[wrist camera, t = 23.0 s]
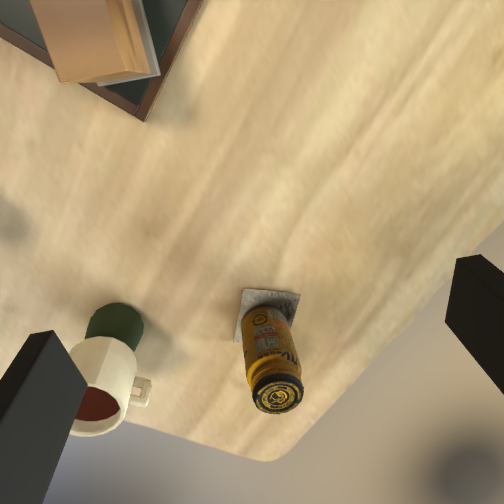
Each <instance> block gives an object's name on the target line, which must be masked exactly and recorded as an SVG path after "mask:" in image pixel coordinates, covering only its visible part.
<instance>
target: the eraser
mask: <svg viewBox="0 0 504 504" xmlns="http://www.w3.org/2000/svg"><path fill="white" fill-rule="evenodd" d="M29 2H30V5H31V8H32V10H33V13H34V15H35V18H36V21H37V23H38V26H39V29H40V31H41V34H42V36H43V39H44V42H45V44H46V47H47V50H48V52H49V55H50V57H51V60H52V63H53V65H54V68H55V70H56V73H57V76H58V78H59V81H60V83H97V85H98V86H107V85H113V84H118V83H123V82H129V81H134V80H139V79H145V78H150V77H155V76H160V75H161V73H160V69H159V65H158V61H157V58H156V54H155V50H154V46H153V42H152V38H151V34H150V30H149V26H148V23H147V19H146V15H145V11H144V7H143V3H142V0H29Z"/></svg>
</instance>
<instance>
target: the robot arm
mask: <svg viewBox="0 0 504 504" xmlns="http://www.w3.org/2000/svg"><path fill="white" fill-rule="evenodd" d="M445 323H446V324H447V325H448V327H449V328H450V329H451V330H452V331H453V333H454V334H455V335H456V336H457V338H458V339H459V340H460V341H461V342H462V344H463V345H464V346H465V348H466V349H467V350H468V351H469V352H470V354H471V355H472V356H473V357H474V358H475V360H476V361H477V362H478V364H479V365H480V366H481V367H482V368H483V370H484V371H485V372H486V373H487V375H488V376H489V377H490V378H491V380H492V381H493V382H494V383H495V384H496V386H497V387H498V388H499V389H500V391H501V392H502V393H503V394H504V273H503V272H502V271H501V270H499V269H498V268H497V267H496V266H494V265H493V264H492V263H491V262H489V261H488V260H487V259H486V258H484V257H483V256H482V255H481V254H479V255H474V256H468V257H462V258H457V259H456V264H455V270H454V275H453V280H452V286H451V291H450V296H449V302H448V307H447V312H446V318H445ZM87 386H88V383H87V382H86V380H85V379H84V377H83V376H82V374H81V372H80V371H79V369H78V368H77V366H76V365H75V363H74V362H73V360H72V358H71V357H70V355H69V354H68V352H67V351H66V349H65V347H64V346H63V344H62V343H61V341H60V340H59V338H58V336H57V335H56V333H55V332H54V330H51V331H45V332H40V333H34V334H30V335H29V337H28V338H27V340H26V341H25V343H24V345H23V346H22V348H21V349H20V351H19V352H18V354H17V355H16V357H15V358H14V360H13V361H12V363H11V364H10V366H9V368H8V369H7V371H6V372H5V374H4V375H3V377H2V378H1V380H0V504H42V503H43V500H44V497H45V495H46V492H47V490H48V487H49V484H50V482H51V479H52V477H53V474H54V472H55V469H56V466H57V464H58V461H59V458H60V456H61V453H62V451H63V448H64V446H65V443H66V440H67V438H68V435H69V433H70V430H71V428H72V425H73V422H74V420H75V417H76V415H77V412H78V409H79V407H80V404H81V402H82V399H83V396H84V394H85V391H86V389H87Z"/></svg>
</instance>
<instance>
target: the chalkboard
mask: <svg viewBox="0 0 504 504" xmlns="http://www.w3.org/2000/svg"><path fill="white" fill-rule="evenodd" d="M202 2H203V0H142V3H143V7H144V11H145V15H146V19H147V23H148V26H149V30H150V34H151V38H152V42H153V46H154V50H155V54H156V58H157V61H158V65H159V69H160V73H161V75H160V76H155V77H150V78H145V79H139V80H134V81H129V82H123V83H118V84H113V85H107V86H98V85H97V83H79V84H80V85H82V86H84V87H85V88H87V89H89V90H90V91H92V92H94V93H95V94H97V95H99V96H101V97H102V98H104V99H106V100H107V101H109V102H111V103H112V104H114V105H116V106H117V107H119V108H121V109H122V110H124V111H126V112H127V113H129V114H131V115H133V116H135V117H136V118H138V119H139V120H141V121H143V122H145V121H146V120H147V118H148V116H149V114H150V112H151V110H152V108H153V105H154V103H155V101H156V99H157V97H158V95H159V93H160V91H161V89H162V86H163V84H164V82H165V80H166V78H167V76H168V74H169V72H170V70H171V68H172V65H173V63H174V61H175V59H176V57H177V55H178V53H179V51H180V49H181V46H182V44H183V42H184V40H185V38H186V36H187V34H188V32H189V30H190V28H191V25H192V23H193V21H194V19H195V17H196V15H197V13H198V11H199V9H200V6H201V4H202ZM0 37H1V38H3V39H5V40H6V41H8V42H10V43H11V44H13V45H15V46H16V47H18V48H20V49H21V50H23V51H25V52H26V53H28V54H30V55H31V56H33V57H35V58H37V59H38V60H40V61H42V62H43V63H45V64H47V65H48V66H50V67H52V68H53V69H55V68H54V65H53V63H52V60H51V57H50V55H49V52H48V50H47V47H46V44H45V42H44V39H43V36H42V34H41V31H40V29H39V26H38V23H37V21H36V18H35V15H34V13H33V10H32V8H31V5H30V2H29V0H0Z"/></svg>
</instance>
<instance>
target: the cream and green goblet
mask: <svg viewBox="0 0 504 504" xmlns="http://www.w3.org/2000/svg"><path fill="white" fill-rule="evenodd" d="M143 329H144V323H143V321H142V318H141V316H140V314H139V313H138V312H136V311H135V310H134V309H133V308H132V307H130V306H126V305H123V304H120V303H118V304H109V305H105V306H104V307H102V308H100V309H98V310H96V312H95V313H94V314H93V316H92V317H91V319H90V322H89V325H88V328H87V332H86V336H85V340H83V341H82V342H80V343H79V344H77V345H76V346H75V347H74V348H72V350H71V351H70V353H69V355H70V357H71V358H72V360H73V362H74V363H75V365H76V366H77V368H78V369H79V371H80V372H81V374H82V376H83V377H84V379H85V380H86V382H87V383H88V386H87V389H86V391H85V394H84V396H83V399H82V402H81V404H80V407H79V409H78V412H77V415H76V417H75V420H74V422H73V425H72V428H71V430H70V433H69V434H71V435H74V436H83V437H84V436H85V437H87V436H97V435H101V434H105V433H107V432H109V431H111V430H113V429H114V428H116V427H117V426H118V425H119V424H120V423H121V421H122V420H123V419H124V417H125V414H126V410H127V406H128V405H130V406H134V407H139V408H142V407H146V406H147V404H148V402H149V397H150V392H151V387H152V386H151V381H150V380H148V379H144V378H140V377H136V376H135V375H136V368H137V362H136V358H135V355H134V351H135V349H136V347H137V345H138V343H139V341H140V339H141V337H142V334H143ZM133 386H134V387H138V388H142V389H141V393H140V396H135V395H131V391H132V387H133Z"/></svg>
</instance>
